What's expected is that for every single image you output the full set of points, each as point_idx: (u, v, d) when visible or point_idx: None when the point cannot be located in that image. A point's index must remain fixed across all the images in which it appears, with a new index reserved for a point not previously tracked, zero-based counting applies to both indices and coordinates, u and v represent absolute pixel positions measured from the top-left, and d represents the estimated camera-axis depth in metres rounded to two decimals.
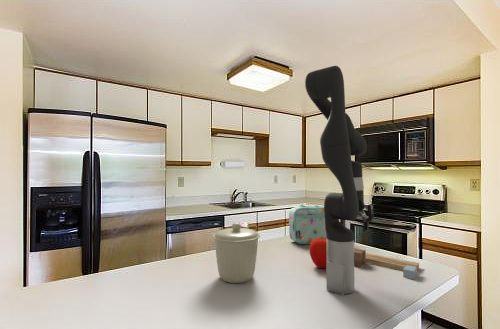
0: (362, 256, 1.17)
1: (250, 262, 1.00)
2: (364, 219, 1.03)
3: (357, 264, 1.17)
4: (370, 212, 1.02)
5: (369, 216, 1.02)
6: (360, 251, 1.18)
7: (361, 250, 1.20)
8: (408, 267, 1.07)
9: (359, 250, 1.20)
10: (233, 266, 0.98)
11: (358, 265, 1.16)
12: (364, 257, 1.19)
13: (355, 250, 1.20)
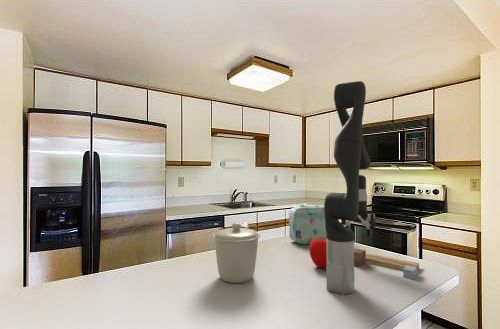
0: (362, 256, 1.17)
1: (250, 262, 1.00)
2: (367, 226, 1.16)
3: (357, 264, 1.17)
4: (373, 220, 1.15)
5: (372, 224, 1.15)
6: (360, 251, 1.18)
7: (361, 250, 1.20)
8: (408, 267, 1.07)
9: (359, 250, 1.20)
10: (233, 266, 0.98)
11: (358, 265, 1.16)
12: (364, 257, 1.19)
13: (355, 250, 1.20)
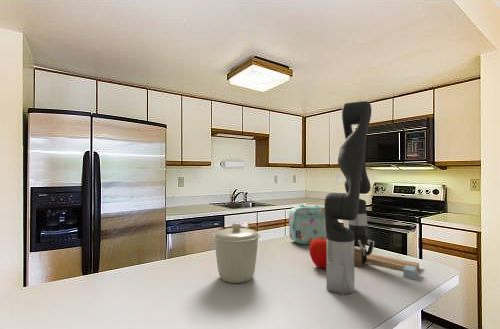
0: None
1: (250, 262, 1.00)
2: (363, 253, 1.17)
3: (357, 264, 1.17)
4: (370, 248, 1.15)
5: (368, 251, 1.15)
6: (360, 251, 1.18)
7: None
8: (408, 267, 1.07)
9: (359, 250, 1.20)
10: (233, 266, 0.98)
11: (358, 265, 1.16)
12: None
13: (355, 250, 1.20)
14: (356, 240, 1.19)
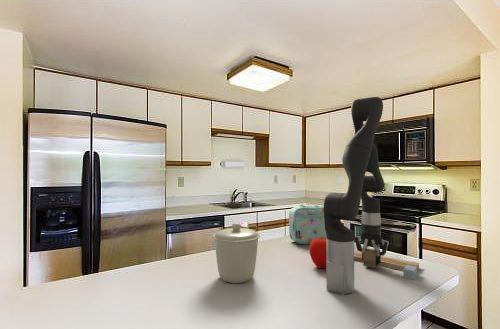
0: None
1: (250, 262, 1.00)
2: (377, 253, 1.13)
3: (371, 265, 1.13)
4: (385, 248, 1.11)
5: (382, 251, 1.12)
6: (373, 251, 1.15)
7: None
8: (408, 267, 1.07)
9: (372, 250, 1.16)
10: (233, 266, 0.98)
11: (372, 266, 1.13)
12: None
13: (368, 250, 1.16)
14: (369, 240, 1.15)
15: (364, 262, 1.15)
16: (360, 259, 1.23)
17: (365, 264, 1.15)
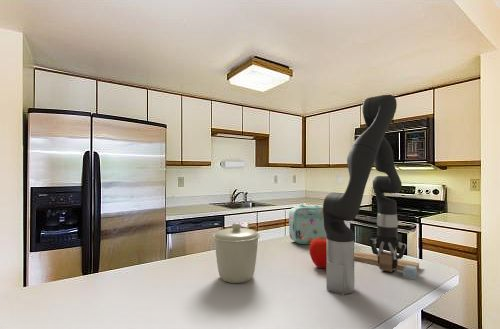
0: (392, 260, 1.09)
1: (250, 262, 1.00)
2: (394, 256, 1.09)
3: (387, 268, 1.09)
4: (402, 251, 1.07)
5: (400, 254, 1.08)
6: (390, 254, 1.10)
7: None
8: (408, 267, 1.07)
9: (388, 253, 1.12)
10: (233, 266, 0.98)
11: (388, 269, 1.09)
12: None
13: (384, 253, 1.12)
14: (386, 243, 1.11)
15: (380, 265, 1.11)
16: (360, 259, 1.23)
17: (381, 268, 1.10)
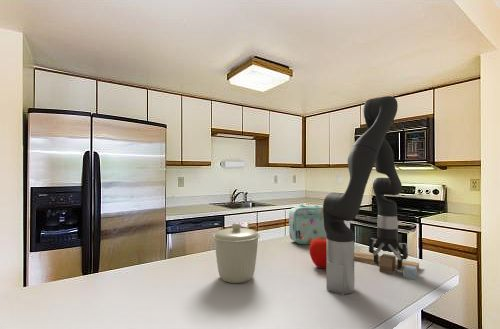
0: (393, 263, 1.09)
1: (250, 262, 1.00)
2: (398, 257, 1.08)
3: (387, 271, 1.09)
4: (405, 251, 1.07)
5: (404, 254, 1.07)
6: (390, 257, 1.10)
7: (391, 256, 1.12)
8: (408, 267, 1.07)
9: (389, 256, 1.12)
10: (233, 266, 0.98)
11: (388, 272, 1.09)
12: (394, 263, 1.11)
13: (384, 256, 1.12)
14: (386, 244, 1.11)
15: (380, 268, 1.11)
16: (360, 259, 1.23)
17: (381, 270, 1.10)
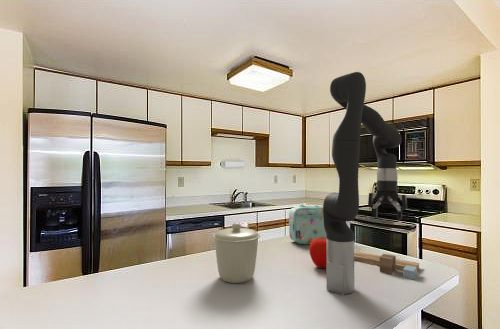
0: (393, 263, 1.09)
1: (250, 262, 1.00)
2: (398, 208, 1.08)
3: (387, 271, 1.09)
4: (404, 201, 1.07)
5: (403, 205, 1.07)
6: (390, 257, 1.10)
7: (391, 256, 1.12)
8: (408, 267, 1.07)
9: (389, 256, 1.12)
10: (233, 266, 0.98)
11: (388, 272, 1.09)
12: (394, 263, 1.11)
13: (384, 256, 1.12)
14: (385, 197, 1.11)
15: (380, 268, 1.11)
16: (360, 259, 1.23)
17: (381, 270, 1.10)
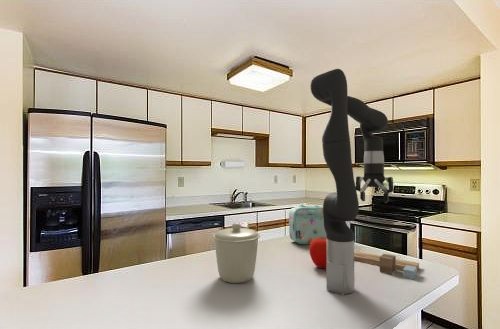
0: (392, 263, 1.09)
1: (250, 262, 1.00)
2: (384, 190, 1.08)
3: (387, 271, 1.09)
4: (390, 183, 1.07)
5: (389, 187, 1.07)
6: (390, 257, 1.10)
7: (391, 256, 1.12)
8: (408, 267, 1.07)
9: (389, 256, 1.12)
10: (233, 266, 0.98)
11: (389, 272, 1.09)
12: (394, 263, 1.11)
13: (384, 256, 1.12)
14: (372, 180, 1.11)
15: (380, 268, 1.11)
16: (360, 259, 1.23)
17: (381, 270, 1.10)
